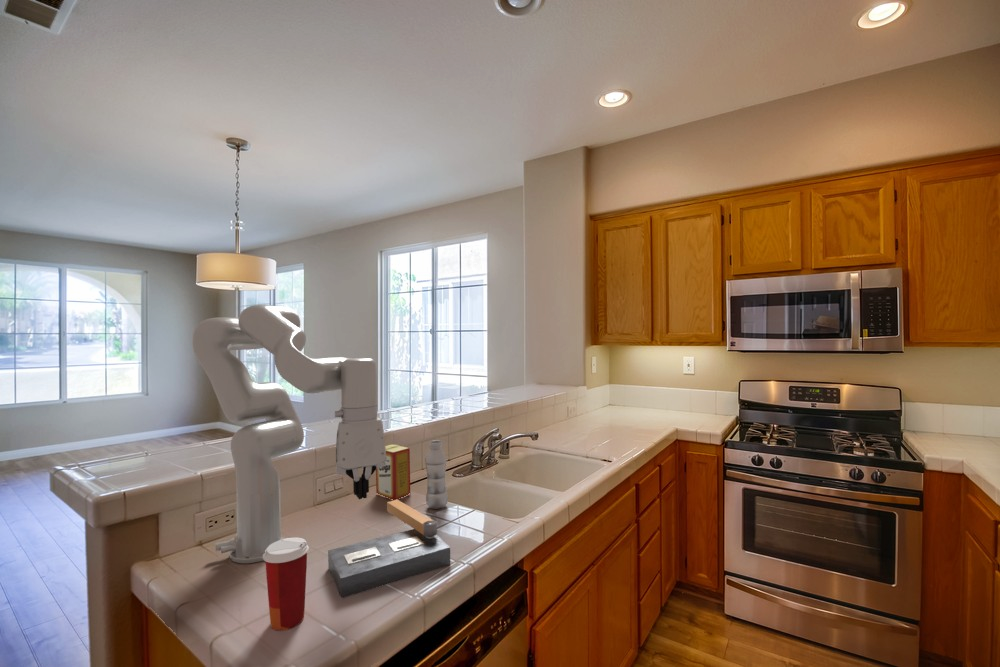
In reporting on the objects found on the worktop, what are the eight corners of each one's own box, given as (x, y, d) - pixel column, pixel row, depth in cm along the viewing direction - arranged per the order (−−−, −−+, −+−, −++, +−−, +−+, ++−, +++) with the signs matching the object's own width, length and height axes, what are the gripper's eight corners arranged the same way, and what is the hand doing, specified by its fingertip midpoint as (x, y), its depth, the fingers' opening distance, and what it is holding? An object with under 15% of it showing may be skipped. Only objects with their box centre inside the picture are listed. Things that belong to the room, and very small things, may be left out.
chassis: (341, 598, 90) (340, 574, 90) (328, 568, 102) (328, 547, 102) (450, 564, 102) (449, 544, 102) (427, 541, 114) (427, 522, 114)
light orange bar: (439, 533, 107) (439, 523, 107) (427, 538, 105) (427, 527, 105) (397, 508, 123) (397, 499, 123) (386, 511, 121) (386, 502, 121)
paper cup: (316, 607, 87) (315, 535, 87) (300, 633, 79) (298, 554, 79) (275, 609, 87) (274, 536, 87) (255, 635, 79) (253, 556, 79)
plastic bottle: (444, 512, 133) (442, 444, 133) (422, 510, 134) (421, 444, 134) (450, 503, 139) (449, 439, 139) (430, 502, 141) (429, 439, 141)
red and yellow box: (410, 495, 148) (409, 446, 148) (394, 501, 143) (393, 451, 143) (392, 489, 154) (391, 443, 154) (376, 495, 149) (375, 447, 149)
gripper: (327, 420, 92) (328, 509, 92) (397, 412, 100) (399, 495, 99) (321, 415, 98) (322, 498, 98) (387, 408, 106) (389, 485, 106)
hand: (361, 496), depth 99 cm, fingers closed
